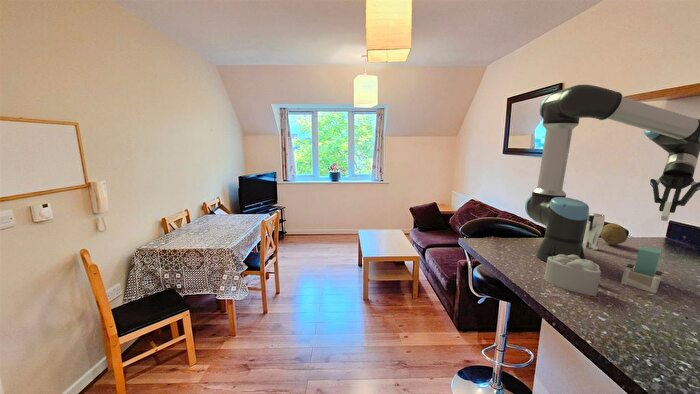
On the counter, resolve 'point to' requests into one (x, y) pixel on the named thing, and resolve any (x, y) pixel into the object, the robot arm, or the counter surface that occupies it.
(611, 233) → the natural sponge
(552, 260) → the lumpy-topped squat cylinder
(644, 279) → the guide channel
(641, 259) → the teal block
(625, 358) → the counter surface
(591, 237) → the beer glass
